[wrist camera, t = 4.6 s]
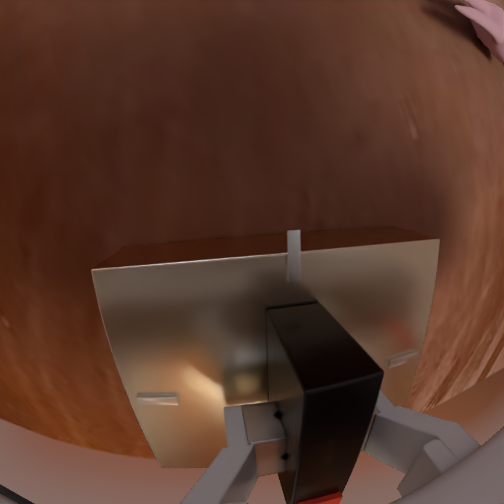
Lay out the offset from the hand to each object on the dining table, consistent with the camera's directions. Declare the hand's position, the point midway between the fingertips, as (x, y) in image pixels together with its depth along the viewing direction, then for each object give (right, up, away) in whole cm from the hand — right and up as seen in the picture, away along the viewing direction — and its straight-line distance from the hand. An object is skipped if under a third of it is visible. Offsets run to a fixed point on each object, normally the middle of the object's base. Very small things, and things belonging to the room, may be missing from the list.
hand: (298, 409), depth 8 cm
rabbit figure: (+15, +20, +2) cm, 25 cm away
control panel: (-1, +1, +4) cm, 4 cm away
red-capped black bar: (0, 0, +1) cm, 1 cm away
